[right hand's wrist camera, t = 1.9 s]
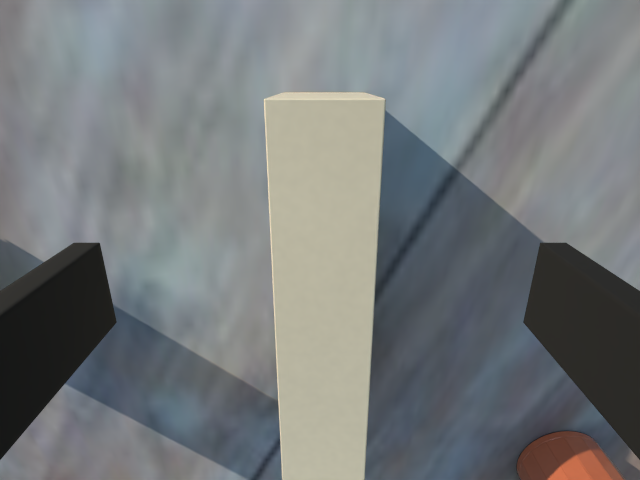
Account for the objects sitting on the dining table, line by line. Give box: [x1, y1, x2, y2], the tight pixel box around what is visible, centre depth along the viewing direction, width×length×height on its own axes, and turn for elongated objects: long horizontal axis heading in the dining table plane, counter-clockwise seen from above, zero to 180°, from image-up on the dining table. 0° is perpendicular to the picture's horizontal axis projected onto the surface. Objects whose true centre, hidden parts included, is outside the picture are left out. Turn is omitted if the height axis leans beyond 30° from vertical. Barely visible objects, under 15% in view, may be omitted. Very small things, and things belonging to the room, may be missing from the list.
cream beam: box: [264, 92, 386, 480], centre depth 26 cm, size 5×26×9 cm, turn 0°
